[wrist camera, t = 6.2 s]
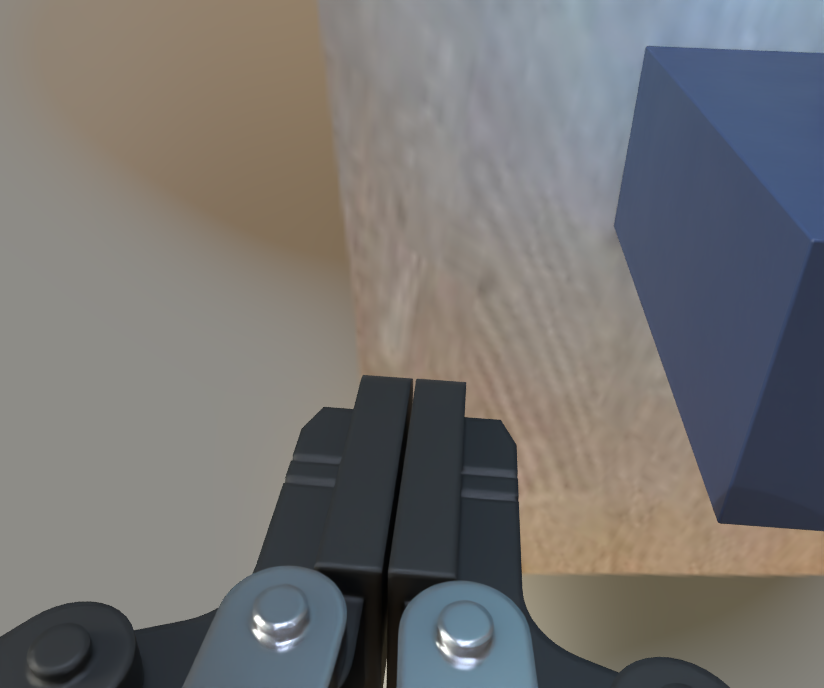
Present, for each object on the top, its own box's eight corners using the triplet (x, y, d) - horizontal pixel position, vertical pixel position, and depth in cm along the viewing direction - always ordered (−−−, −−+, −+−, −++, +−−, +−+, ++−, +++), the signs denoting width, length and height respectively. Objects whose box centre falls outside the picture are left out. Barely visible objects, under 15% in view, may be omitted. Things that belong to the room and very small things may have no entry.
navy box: (613, 226, 24) (716, 524, 13) (645, 45, 21) (812, 239, 11) (773, 235, 24) (1011, 546, 13) (828, 53, 21) (1193, 259, 10)
